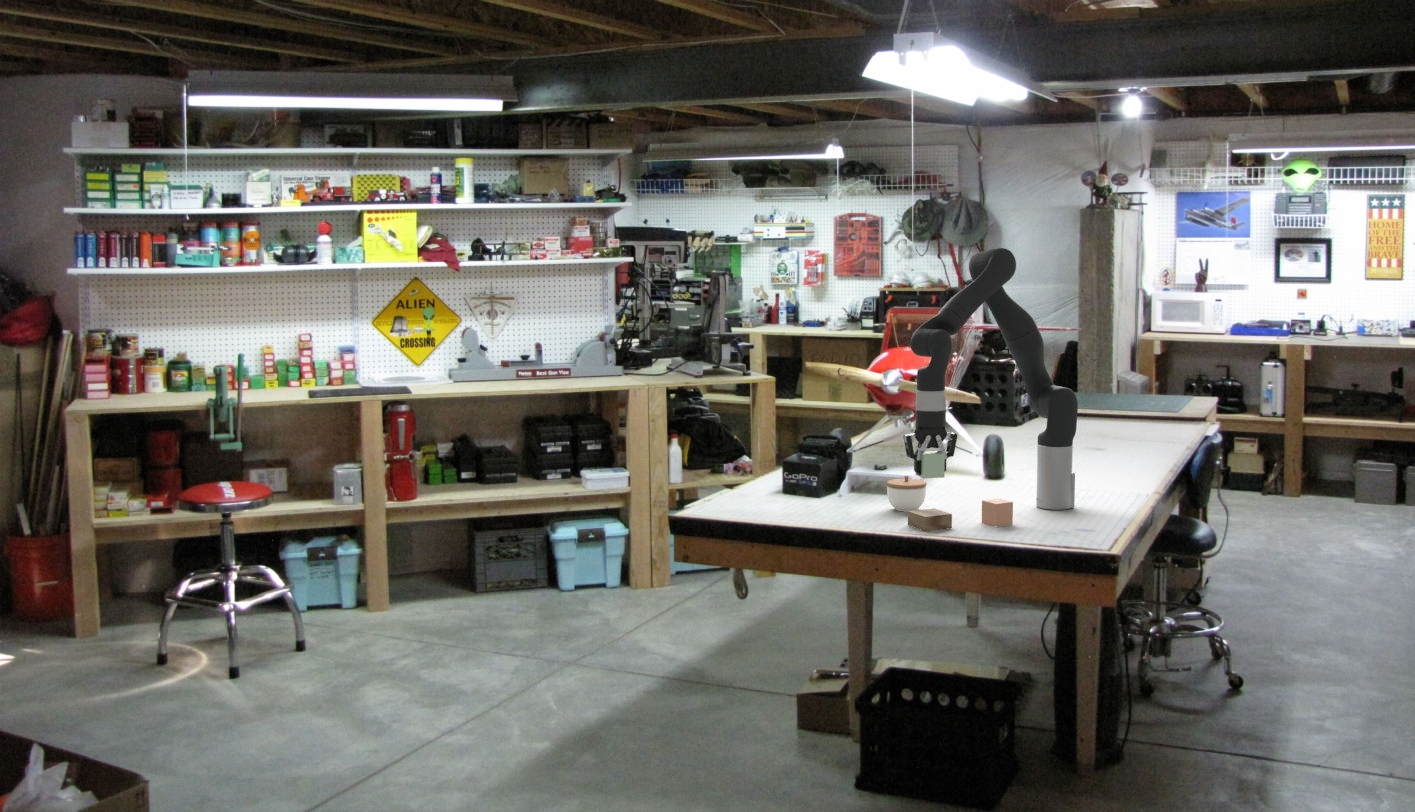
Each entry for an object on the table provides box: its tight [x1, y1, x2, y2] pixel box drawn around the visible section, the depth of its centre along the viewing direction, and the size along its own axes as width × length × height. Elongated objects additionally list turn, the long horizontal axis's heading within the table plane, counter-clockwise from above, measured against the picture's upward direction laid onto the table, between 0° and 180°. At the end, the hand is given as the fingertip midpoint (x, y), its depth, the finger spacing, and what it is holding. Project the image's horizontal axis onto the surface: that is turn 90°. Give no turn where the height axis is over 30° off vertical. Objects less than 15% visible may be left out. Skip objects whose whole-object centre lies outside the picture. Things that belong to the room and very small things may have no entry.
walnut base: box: [907, 508, 953, 532], centre depth 313 cm, size 8×8×4 cm
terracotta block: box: [981, 498, 1014, 527], centre depth 315 cm, size 6×6×6 cm
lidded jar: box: [886, 475, 927, 513], centre depth 334 cm, size 11×11×9 cm
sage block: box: [915, 450, 945, 479], centre depth 311 cm, size 6×6×6 cm
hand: (930, 473), depth 312 cm, fingers closed on sage block, 5 cm apart
